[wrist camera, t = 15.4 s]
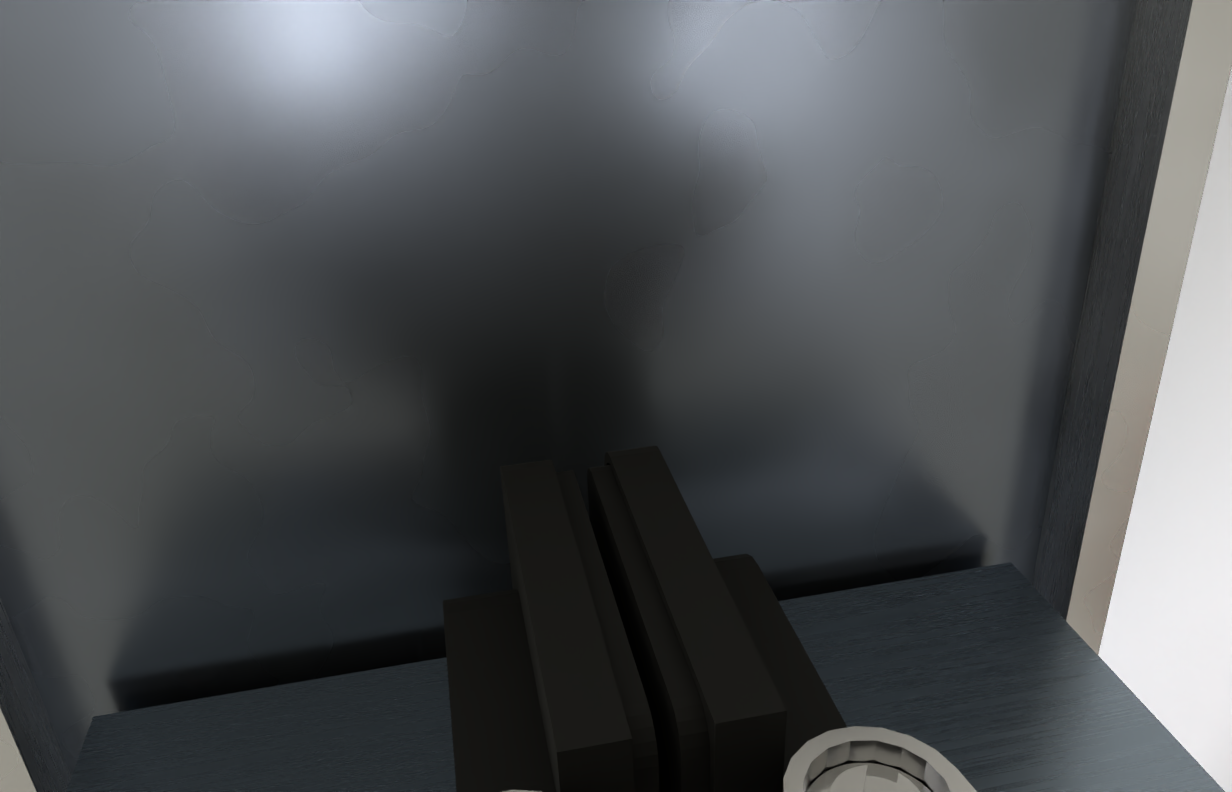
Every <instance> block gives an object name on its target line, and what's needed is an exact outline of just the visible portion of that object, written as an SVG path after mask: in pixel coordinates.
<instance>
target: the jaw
mask: <svg viewBox="0 0 1232 792" xmlns="http://www.w3.org/2000/svg"><path fill="white" fill-rule="evenodd" d="M778 602H779V604H780V605H781V607H782V609H783V611H784V613H785V615H786V616H787V618H788V620H789V622H790V624H791V625H792V627H793V629H794V631H795V633H796V635H797V636H798V638H799V640H800V642H801V644H802V645H803V647H804V649H805V651H806V653H807V654H808V656H809V658H810V660H811V662H812V664H813V665H814V667H815V669H816V671H817V673H818V674H819V676H820V678H821V680H822V682H823V684H824V685H825V687H826V689H827V691H828V693H829V694H830V696H831V698H832V700H833V702H834V704H835V705H836V707H837V709H838V711H839V713H840V714H841V716H842V718H843V720H844V722H845V723H846V725H847V727H852V726H862V727H878V728H885V729H888V730H892V731H895V732H899V733H902V734H906V735H909V736H912V737H913V738H915V739H917V740H919V741H921V742H923V743H925V744H926V745H928V746H930V747H932V748H934V749H936V750H937V751H938V752H939V753H940V754H941V755H942V756H944V757H945V758H946V759H947V760H948V761H949V762H950V763H951V764H953V765H954V766H955V767H956V768H957V769H958V770H959V771H960V773H961V774H962V775H963V776H964V777H965V778H966V779H967V781H968V782H969V783H970V784H971V785H972V786H973V788H974V789H975V790H976V791H977V792H1225V791H1224V790H1223V789H1222V788H1221V787H1220V786H1219V785H1218V784H1217V783H1216V782H1215V780H1214V779H1213V778H1212V777H1211V776H1210V775H1209V774H1208V773H1207V772H1206V771H1205V770H1204V769H1203V768H1202V767H1201V765H1200V764H1199V763H1198V762H1197V761H1196V760H1195V759H1194V758H1193V757H1192V756H1191V755H1190V754H1189V753H1188V751H1187V750H1186V749H1185V748H1184V747H1183V746H1182V745H1181V744H1180V743H1179V742H1178V741H1177V740H1176V739H1175V738H1174V736H1173V735H1172V734H1171V733H1170V732H1169V731H1168V730H1167V729H1166V728H1165V727H1164V726H1163V725H1162V724H1161V723H1160V721H1159V720H1158V719H1157V718H1156V717H1155V716H1154V715H1153V714H1152V713H1151V712H1150V711H1149V710H1148V709H1147V708H1146V706H1145V705H1144V704H1143V703H1142V702H1141V701H1140V700H1139V699H1138V698H1137V697H1136V696H1135V695H1134V694H1133V692H1132V691H1131V690H1130V689H1129V688H1128V687H1127V686H1126V685H1125V684H1124V683H1123V682H1122V681H1121V680H1120V679H1119V677H1118V676H1117V675H1116V674H1115V673H1114V672H1113V671H1112V670H1111V669H1110V668H1109V667H1108V666H1107V665H1106V664H1105V662H1104V661H1103V660H1102V659H1101V658H1100V657H1099V656H1098V655H1097V654H1096V653H1095V652H1094V651H1093V650H1092V648H1091V647H1090V646H1089V645H1088V644H1087V643H1086V642H1085V641H1084V640H1083V639H1082V638H1081V637H1080V636H1079V635H1078V633H1077V632H1076V631H1075V630H1074V629H1073V628H1072V627H1071V626H1070V625H1069V624H1068V623H1067V622H1066V621H1065V620H1064V618H1063V617H1062V616H1061V615H1060V614H1059V613H1058V612H1057V611H1056V610H1055V609H1054V608H1053V607H1052V606H1051V605H1050V603H1049V602H1048V601H1047V600H1046V599H1045V598H1044V597H1043V596H1042V595H1041V594H1040V593H1039V592H1038V591H1037V589H1036V588H1035V587H1034V586H1033V585H1032V584H1031V583H1030V582H1029V581H1028V580H1027V579H1026V578H1025V577H1024V576H1023V574H1022V573H1021V572H1020V571H1019V570H1018V569H1017V568H1016V567H1015V566H1014V565H1013V564H1012V563H1011V562H1009V563H1003V564H997V565H991V566H985V567H979V568H973V569H967V570H961V571H955V572H949V573H943V574H938V575H932V576H926V577H920V578H914V579H908V580H902V581H896V582H890V583H884V584H878V585H872V586H866V587H860V588H854V589H848V590H842V591H837V592H831V593H825V594H819V595H813V596H807V597H801V598H795V599H789V600H783V601H778ZM66 792H456V779H455V765H454V752H453V738H452V725H451V711H450V698H449V684H448V671H447V657H444V658H438V659H432V660H427V661H421V662H415V663H409V664H403V665H397V666H391V667H385V668H379V669H373V670H367V671H361V672H355V673H349V674H343V675H337V676H331V677H326V678H320V679H314V680H308V681H302V682H296V683H290V684H284V685H278V686H272V687H266V688H260V689H254V690H248V691H242V692H236V693H230V694H225V695H219V696H213V697H207V698H201V699H195V700H189V701H183V702H177V703H171V704H165V705H159V706H153V707H147V708H141V709H135V710H129V711H124V712H118V713H112V714H106V715H100V716H94V717H93V718H92V721H91V724H90V727H89V730H88V732H87V735H86V738H85V741H84V743H83V746H82V749H81V752H80V754H79V757H78V760H77V763H76V765H75V768H74V771H73V774H72V776H71V779H70V782H69V785H68V788H67V790H66Z"/></svg>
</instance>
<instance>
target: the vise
mask: <svg viewBox="0 0 1232 792" xmlns="http://www.w3.org/2000/svg"><path fill="white" fill-rule="evenodd" d="M1231 66H1232V0H0V792H66V790H67V788H68V785H69V782H70V779H71V776H72V774H73V771H74V768H75V765H76V763H77V760H78V757H79V754H80V752H81V749H82V746H83V743H84V741H85V738H86V735H87V732H88V730H89V727H90V724H91V721H92V718H93V717H94V716H100V715H106V714H112V713H118V712H124V711H129V710H135V709H141V708H147V707H153V706H159V705H165V704H171V703H177V702H183V701H189V700H195V699H201V698H207V697H213V696H219V695H225V694H230V693H236V692H242V691H248V690H254V689H260V688H266V687H272V686H278V685H284V684H290V683H296V682H302V681H308V680H314V679H320V678H326V677H331V676H337V675H343V674H349V673H355V672H361V671H367V670H373V669H379V668H385V667H391V666H397V665H403V664H409V663H415V662H421V661H427V660H432V659H438V658H444V657H446V644H445V630H444V617H443V600H448V599H454V598H461V597H467V596H474V595H480V594H487V593H493V592H500V591H506V590H513V588H512V578H511V569H510V559H509V550H508V540H507V531H506V521H505V512H504V502H503V492H502V483H501V471H500V466H506V465H513V464H521V463H528V462H536V461H543V460H550V459H551V460H552V462H553V465H554V468H555V471H556V472H562V471H570V470H573V471H574V473H575V476H576V479H577V482H578V485H579V488H580V491H581V494H582V498H583V501H584V504H585V507H586V510H587V513H588V516H589V500H588V483H587V472H588V468H592V467H599V466H604V458H605V453H606V452H610V451H618V450H625V449H633V448H640V447H648V446H657V447H658V448H659V450H660V452H661V454H662V456H663V458H664V460H665V462H666V464H667V466H668V468H669V470H670V472H671V474H672V476H673V478H674V480H675V482H676V484H677V486H678V488H679V491H680V493H681V495H682V497H683V499H684V501H685V503H686V505H687V507H688V509H689V511H690V513H691V515H692V517H693V519H694V521H695V523H696V525H697V527H698V530H699V532H700V534H701V536H702V538H703V540H704V542H705V544H706V546H707V548H708V550H709V552H710V554H711V556H712V558H713V559H714V558H721V557H727V556H734V555H740V554H748V555H750V556H752V557H753V558H754V560H755V561H756V563H757V564H758V566H759V567H760V569H761V571H762V573H763V575H764V576H765V578H766V580H767V582H768V584H769V586H770V587H771V589H772V591H773V593H774V595H775V596H776V598H777V600H778V601H783V600H789V599H795V598H801V597H807V596H813V595H819V594H825V593H831V592H837V591H842V590H848V589H854V588H860V587H866V586H872V585H878V584H884V583H890V582H896V581H902V580H908V579H914V578H920V577H926V576H932V575H938V574H943V573H949V572H955V571H961V570H967V569H973V568H979V567H985V566H991V565H997V564H1003V563H1009V562H1011V563H1012V564H1013V565H1014V566H1015V567H1016V568H1017V569H1018V570H1019V571H1020V572H1021V573H1022V574H1023V576H1024V577H1025V578H1026V579H1027V580H1028V581H1029V582H1030V583H1031V584H1032V585H1033V586H1034V587H1035V588H1036V589H1037V591H1038V592H1039V593H1040V594H1041V595H1042V596H1043V597H1044V598H1045V599H1046V600H1047V601H1048V602H1049V603H1050V605H1051V606H1052V607H1053V608H1054V609H1055V610H1056V611H1057V612H1058V613H1059V614H1060V615H1061V616H1062V617H1063V618H1064V620H1065V621H1066V622H1067V623H1068V624H1069V625H1070V626H1071V627H1072V628H1073V629H1074V630H1075V631H1076V632H1077V633H1078V635H1079V636H1080V637H1081V638H1082V639H1083V640H1084V641H1085V642H1086V643H1087V644H1088V645H1089V646H1090V647H1091V648H1092V650H1093V651H1094V652H1095V653H1096V654H1097V655H1098V653H1099V648H1100V644H1101V639H1102V635H1103V631H1104V626H1105V622H1106V617H1107V613H1108V609H1109V604H1110V600H1111V595H1112V591H1113V586H1114V582H1115V578H1116V573H1117V569H1118V564H1119V560H1120V556H1121V551H1122V547H1123V542H1124V538H1125V534H1126V529H1127V525H1128V520H1129V516H1130V512H1131V507H1132V503H1133V498H1134V494H1135V490H1136V485H1137V481H1138V476H1139V472H1140V467H1141V463H1142V459H1143V454H1144V450H1145V445H1146V441H1147V437H1148V432H1149V428H1150V423H1151V419H1152V415H1153V410H1154V406H1155V401H1156V397H1157V393H1158V388H1159V384H1160V379H1161V375H1162V371H1163V366H1164V362H1165V357H1166V353H1167V349H1168V344H1169V340H1170V335H1171V331H1172V326H1173V322H1174V318H1175V313H1176V309H1177V304H1178V300H1179V296H1180V291H1181V287H1182V282H1183V278H1184V274H1185V269H1186V265H1187V260H1188V256H1189V252H1190V247H1191V243H1192V238H1193V234H1194V230H1195V225H1196V221H1197V216H1198V212H1199V207H1200V203H1201V199H1202V194H1203V190H1204V185H1205V181H1206V177H1207V172H1208V168H1209V163H1210V159H1211V155H1212V150H1213V146H1214V141H1215V137H1216V133H1217V128H1218V124H1219V119H1220V115H1221V111H1222V106H1223V102H1224V97H1225V93H1226V88H1227V84H1228V80H1229V75H1230V71H1231ZM589 519H590V517H589Z"/></svg>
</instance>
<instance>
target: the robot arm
mask: <svg viewBox="0 0 1232 792" xmlns="http://www.w3.org/2000/svg"><path fill="white" fill-rule="evenodd" d="M500 471H501V483H502V492H503V502H504V512H505V521H506V531H507V540H508V550H509V559H510V569H511V578H512V588H513V590H506V591H500V592H493V593H487V594H480V595H474V596H467V597H461V598H454V599H448V600H443V617H444V630H445V644H446V657H447V671H448V684H449V698H450V711H451V725H452V738H453V752H454V765H455V779H456V792H977V791H976V790H975V789H974V788H973V786H972V785H971V784H970V783H969V782H968V781H967V779H966V778H965V777H964V776H963V775H962V774H961V773H960V771H959V770H958V769H957V768H956V767H955V766H954V765H953V764H951V763H950V762H949V761H948V760H947V759H946V758H945V757H944V756H942V755H941V754H940V753H939V752H938V751H937V750H936V749H934V748H932V747H930V746H928V745H926V744H925V743H923V742H921V741H919V740H917V739H915V738H913V737H912V736H909V735H906V734H902V733H899V732H895V731H892V730H888V729H885V728H878V727H862V726H852V727H847V725H846V723H845V722H844V720H843V718H842V716H841V714H840V713H839V711H838V709H837V707H836V705H835V704H834V702H833V700H832V698H831V696H830V694H829V693H828V691H827V689H826V687H825V685H824V684H823V682H822V680H821V678H820V676H819V674H818V673H817V671H816V669H815V667H814V665H813V664H812V662H811V660H810V658H809V656H808V654H807V653H806V651H805V649H804V647H803V645H802V644H801V642H800V640H799V638H798V636H797V635H796V633H795V631H794V629H793V627H792V625H791V624H790V622H789V620H788V618H787V616H786V615H785V613H784V611H783V609H782V607H781V605H780V604H779V602H778V600H777V598H776V596H775V595H774V593H773V591H772V589H771V587H770V586H769V584H768V582H767V580H766V578H765V576H764V575H763V573H762V571H761V569H760V567H759V566H758V564H757V563H756V561H755V560H754V558H753V557H752V556H750V555H748V554H740V555H734V556H727V557H721V558H714V559H713V558H712V556H711V554H710V552H709V550H708V548H707V546H706V544H705V542H704V540H703V538H702V536H701V534H700V532H699V530H698V527H697V525H696V523H695V521H694V519H693V517H692V515H691V513H690V511H689V509H688V507H687V505H686V503H685V501H684V499H683V497H682V495H681V493H680V491H679V488H678V486H677V484H676V482H675V480H674V478H673V476H672V474H671V472H670V470H669V468H668V466H667V464H666V462H665V460H664V458H663V456H662V454H661V452H660V450H659V448H658V447H657V446H648V447H640V448H633V449H625V450H618V451H610V452H606V453H605V458H604V466H599V467H592V468H588V472H587V483H588V500H589V516H588V513H587V510H586V507H585V504H584V501H583V498H582V494H581V491H580V488H579V485H578V482H577V479H576V476H575V473H574V471H573V470H570V471H562V472H556V471H555V468H554V465H553V462H552V460H551V459H550V460H543V461H536V462H528V463H521V464H513V465H506V466H500ZM589 517H590V519H589Z"/></svg>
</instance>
